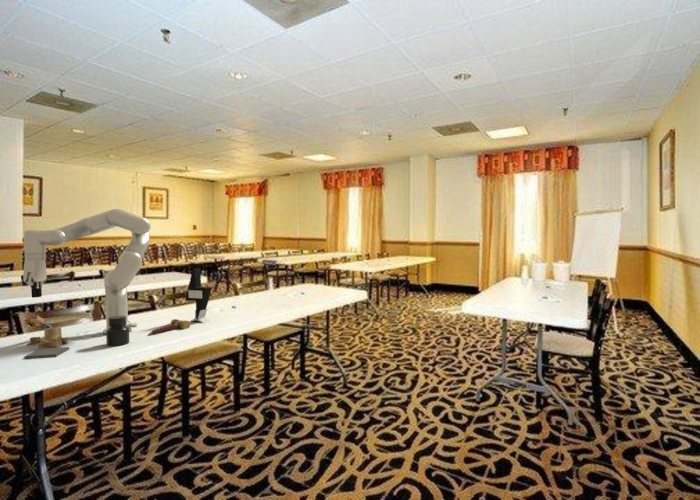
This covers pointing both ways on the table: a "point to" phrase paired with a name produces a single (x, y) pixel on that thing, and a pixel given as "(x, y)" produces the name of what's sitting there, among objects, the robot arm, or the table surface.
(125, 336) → the ink bottle
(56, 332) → the block
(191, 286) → the award
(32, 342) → the lever base
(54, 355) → the mat
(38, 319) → the cutter lever
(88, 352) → the table surface
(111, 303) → the robot arm
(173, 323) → the gavel
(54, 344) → the cradle
